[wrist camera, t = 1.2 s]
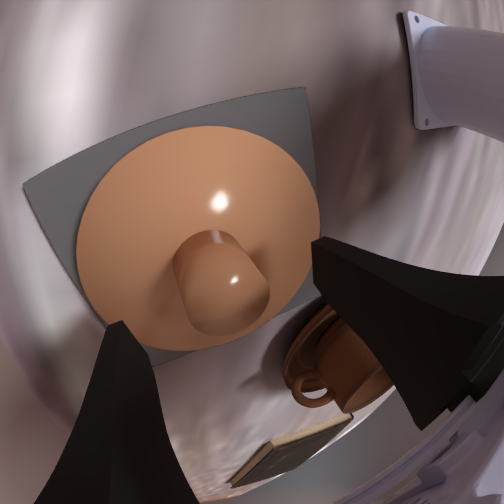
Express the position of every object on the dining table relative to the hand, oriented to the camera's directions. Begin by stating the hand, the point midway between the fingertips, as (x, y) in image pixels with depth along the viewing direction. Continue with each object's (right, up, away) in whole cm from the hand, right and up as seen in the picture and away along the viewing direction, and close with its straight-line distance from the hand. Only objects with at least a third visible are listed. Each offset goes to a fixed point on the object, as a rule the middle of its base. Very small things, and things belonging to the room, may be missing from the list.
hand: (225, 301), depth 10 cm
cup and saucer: (+8, -4, +12) cm, 15 cm away
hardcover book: (+6, -33, +30) cm, 45 cm away
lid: (-1, +2, +3) cm, 3 cm away
